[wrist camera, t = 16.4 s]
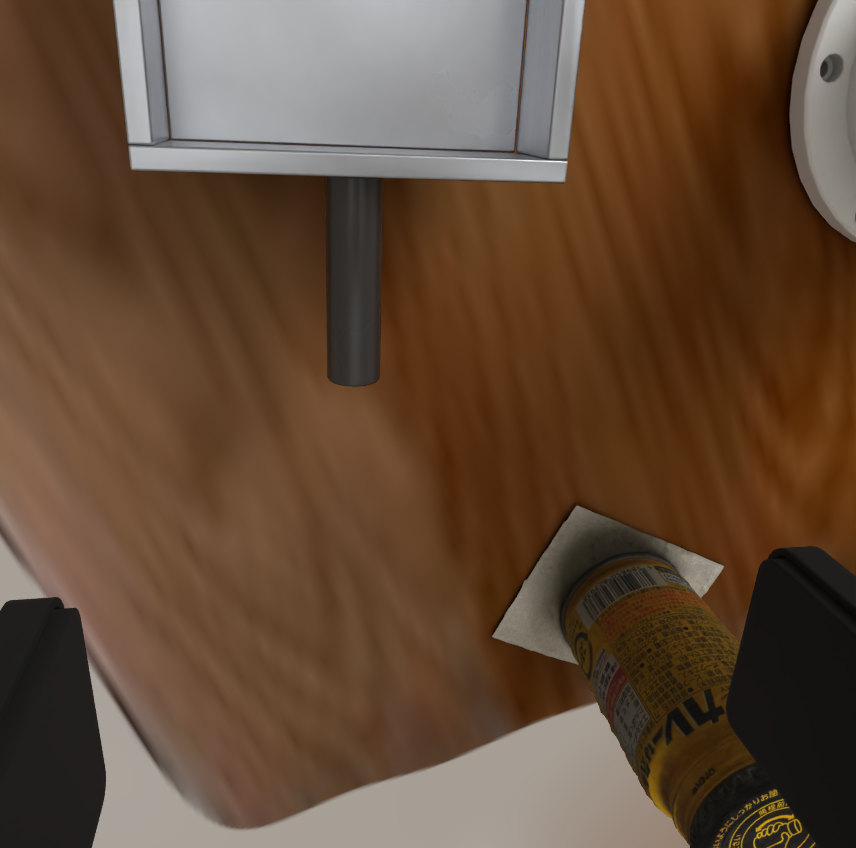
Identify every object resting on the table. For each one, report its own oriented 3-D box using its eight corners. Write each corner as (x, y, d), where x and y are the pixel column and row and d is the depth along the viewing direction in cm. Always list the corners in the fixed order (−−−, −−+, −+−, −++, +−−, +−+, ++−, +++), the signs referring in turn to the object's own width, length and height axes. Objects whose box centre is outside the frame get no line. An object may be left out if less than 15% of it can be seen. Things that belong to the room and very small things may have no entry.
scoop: (565, -258, 19) (622, -331, 16) (510, 355, 26) (543, 391, 22) (107, -323, 17) (66, -422, 14) (171, 360, 24) (154, 400, 20)
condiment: (637, 683, 36) (790, 928, 25) (490, 634, 33) (592, 885, 23) (721, 563, 34) (927, 772, 23) (574, 501, 32) (728, 705, 21)
